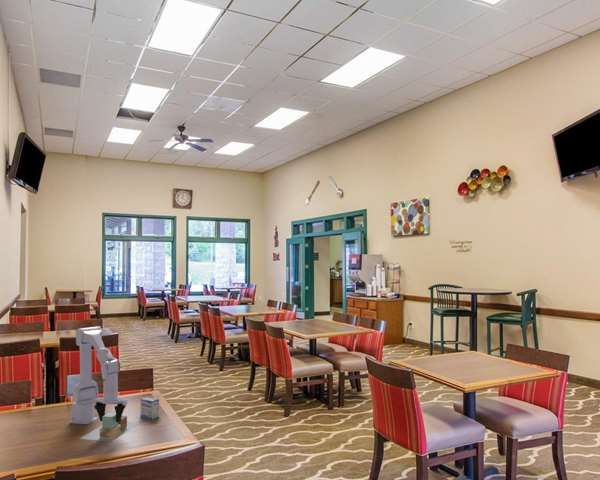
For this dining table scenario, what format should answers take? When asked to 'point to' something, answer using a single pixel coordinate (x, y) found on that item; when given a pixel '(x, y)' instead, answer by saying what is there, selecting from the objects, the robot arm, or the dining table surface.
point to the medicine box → (149, 408)
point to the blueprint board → (96, 436)
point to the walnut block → (123, 422)
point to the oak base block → (110, 432)
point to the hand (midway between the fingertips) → (110, 421)
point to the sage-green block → (109, 421)
